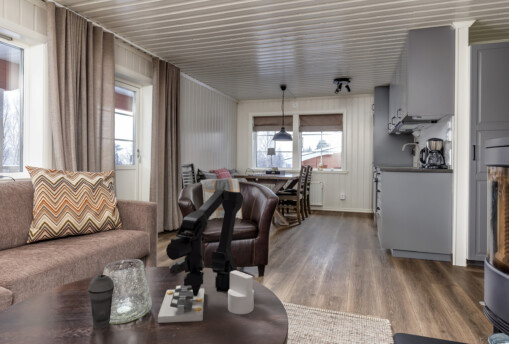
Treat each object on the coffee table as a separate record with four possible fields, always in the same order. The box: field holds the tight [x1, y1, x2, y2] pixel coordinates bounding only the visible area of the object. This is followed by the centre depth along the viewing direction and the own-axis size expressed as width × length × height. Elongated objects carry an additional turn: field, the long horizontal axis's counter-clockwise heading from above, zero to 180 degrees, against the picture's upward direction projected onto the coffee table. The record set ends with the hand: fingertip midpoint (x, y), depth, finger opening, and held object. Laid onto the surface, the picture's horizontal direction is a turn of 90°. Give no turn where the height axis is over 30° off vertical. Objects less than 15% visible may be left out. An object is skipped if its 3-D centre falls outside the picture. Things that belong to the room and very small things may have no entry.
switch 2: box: [173, 292, 194, 299], centre depth 112 cm, size 7×4×1 cm, turn 98°
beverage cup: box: [88, 260, 115, 330], centre depth 98 cm, size 7×7×20 cm
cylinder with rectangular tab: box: [227, 270, 255, 315], centre depth 111 cm, size 9×9×12 cm
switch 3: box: [170, 298, 193, 311], centre depth 105 cm, size 7×4×1 cm, turn 98°
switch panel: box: [157, 282, 205, 324], centre depth 112 cm, size 14×21×5 cm, turn 8°
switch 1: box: [174, 283, 192, 292], centre depth 119 cm, size 7×4×1 cm, turn 97°
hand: (195, 295), depth 112 cm, fingers closed, pressing on switch 2
